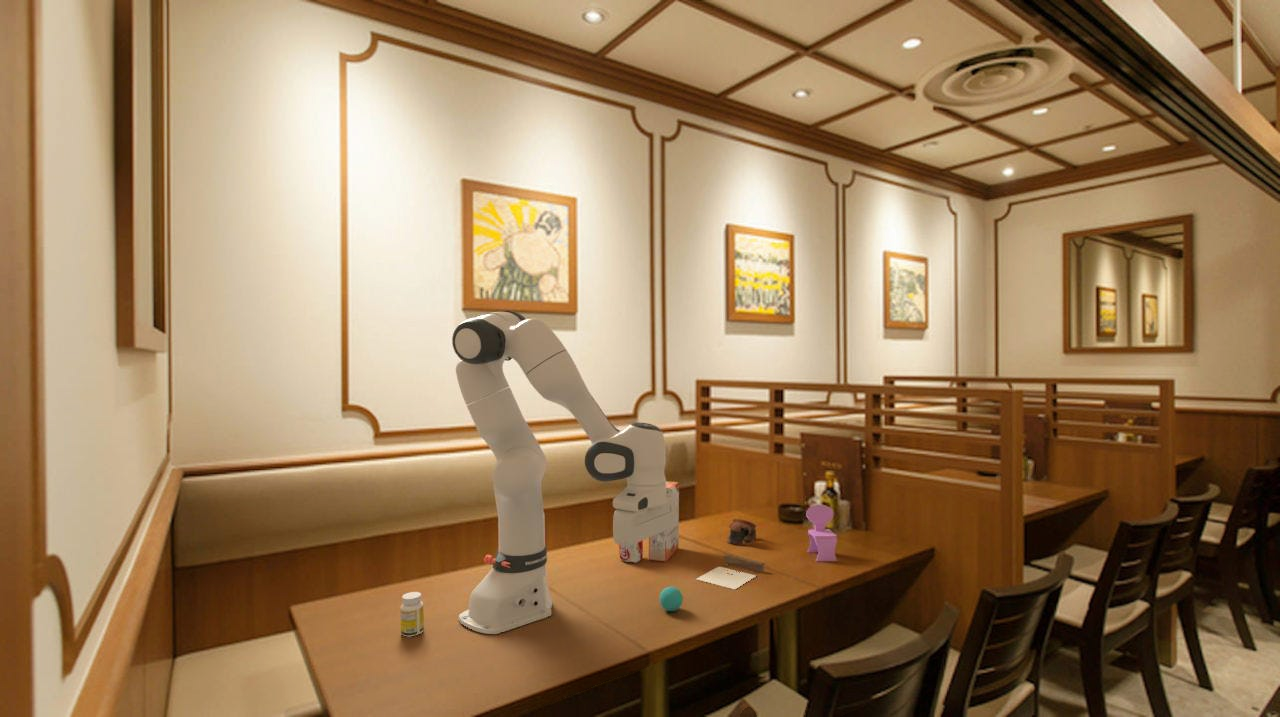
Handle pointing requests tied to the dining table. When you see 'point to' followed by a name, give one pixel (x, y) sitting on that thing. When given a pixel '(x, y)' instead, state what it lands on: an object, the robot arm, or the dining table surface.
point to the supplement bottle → (412, 614)
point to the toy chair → (821, 533)
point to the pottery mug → (741, 532)
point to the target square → (726, 578)
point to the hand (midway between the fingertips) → (647, 555)
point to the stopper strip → (744, 563)
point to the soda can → (626, 555)
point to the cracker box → (672, 535)
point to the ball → (671, 598)
